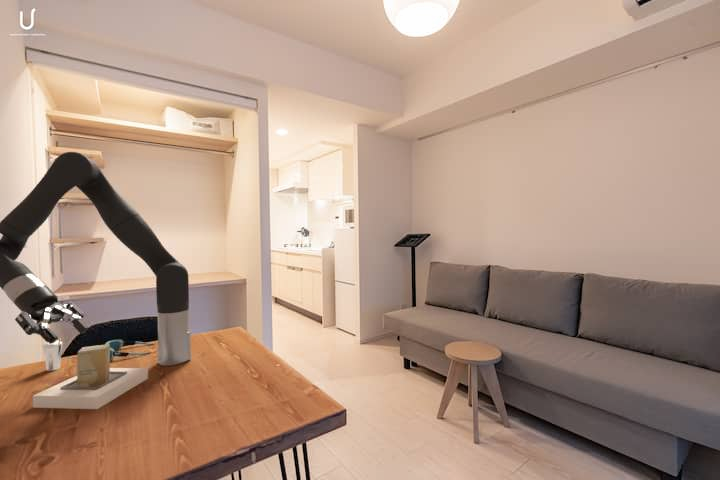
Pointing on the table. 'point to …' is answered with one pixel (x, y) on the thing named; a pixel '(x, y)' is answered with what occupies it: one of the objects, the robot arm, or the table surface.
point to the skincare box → (93, 366)
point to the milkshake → (53, 355)
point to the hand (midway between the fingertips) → (70, 336)
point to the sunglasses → (118, 345)
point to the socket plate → (90, 390)
